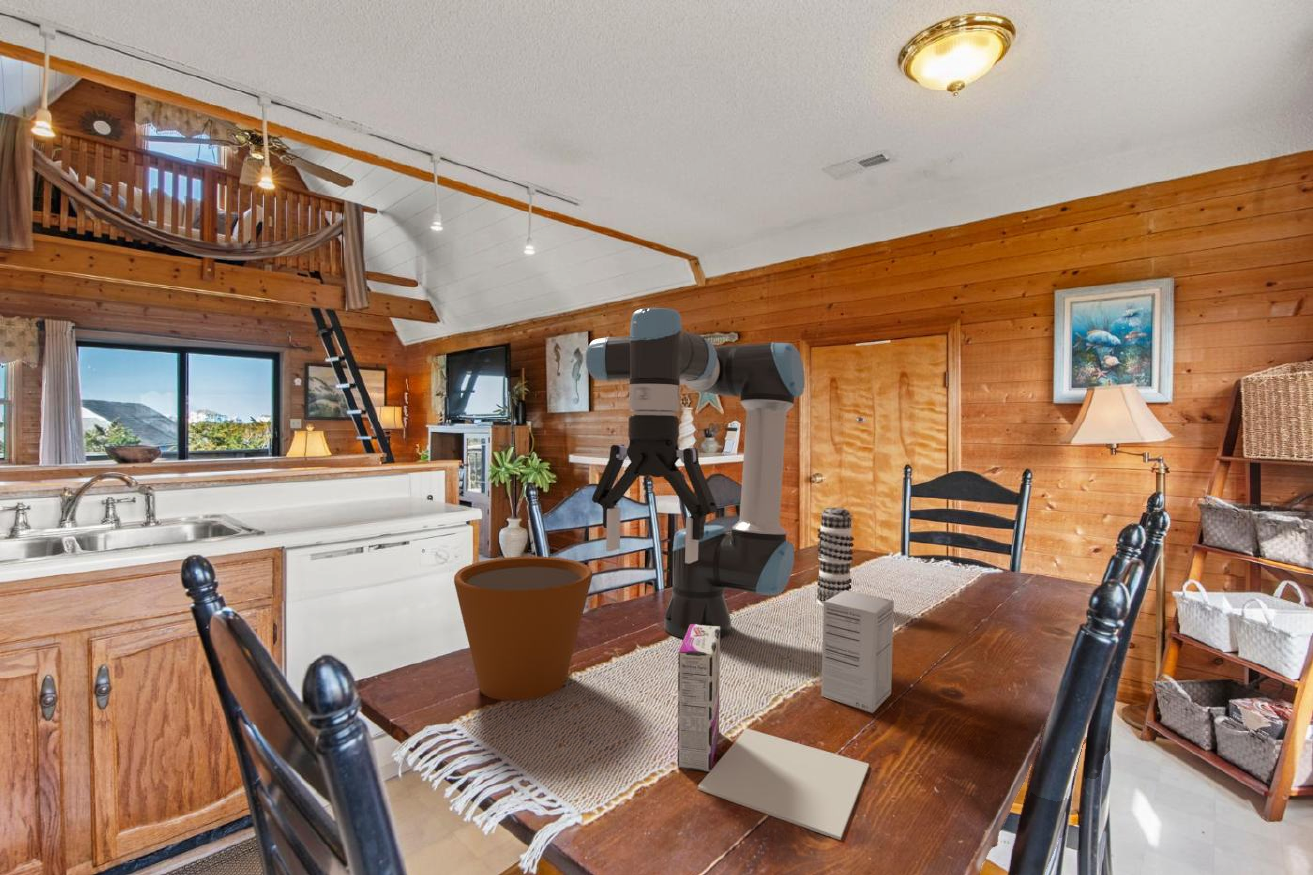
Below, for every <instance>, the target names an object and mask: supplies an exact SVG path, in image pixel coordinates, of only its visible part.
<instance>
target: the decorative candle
mask: <svg viewBox="0 0 1313 875" xmlns="http://www.w3.org/2000/svg"><path fill="white" fill-rule="evenodd" d="M850 513H851V512H850V510H848V509H846V508H843V507H842V508H841V507H828V508H825V509H824V510H823V512H821V513H820V515H821V521H820V522H821V523H820V528H817V532H818V533H817V535H816V536H817V539H819V540H818V541H817V545H818V547H817V551H818V552H819V554H818V555H817V557H818V560H819V571H818V576H817V580H818V581H817V586H818V588H817V590H816V592H817V593H816V594H817V595H816V598H817V602H816V603H817V604H819V605H818V606H820V607H822V606H824V602H825V601H827V600H828V599H830V598H832V597H834V596H835V595H837V594H839V593H841V592H842V591H844V590H845V591H850V589H852V584H851V583H852V578H851V570H850V569H851V563H852V562H853V556H852V555H853V554H854V552H853V550H852V549H851V548H852V547H854V546H855V544H854V543H853V541H854V540H855V538H854V536H852V535H851V534H852V533H853V531H852V529H853V528H852V517H854V516H853V514H850Z"/></svg>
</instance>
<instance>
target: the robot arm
mask: <svg viewBox="0 0 1313 875" xmlns="http://www.w3.org/2000/svg"><path fill="white" fill-rule="evenodd" d="M630 321H631V322H630V323H631V324H630V334H629V336H615V337H614V336H612V337H610V336H606V337H602V338H596V339H593V340H592V341H590V343H589V345H588V346H587V349H586V353H585V356H586V357H585V365H586V369H587V371H588V374H589V375H590V376H591V377H592V378H593V379H595V380H596V381H597V380H598V381H607V382H612V381H613V382H615V381H617V382H618V381H620V382H621V381H625V382H629V391H628V392H629V395H628V396H629V399H628V402H629V403H628V404H629V405H628V410H629V411H630V412H632V415H629V417H628V432H627V434H628V439H629V444H628V446H626V445H624V444H612V445H611V446H610V450H609V458H608V461H607V464H606V465H605V468H604V471H603V472H602V475H601V477H600V479H599V481H598V484H597V486H596V488H595V490H594V491H593V492H594V493H593V494H592V497H591V501H592V502H593V503H594V504H597V505H600V506H601V507H602V526H603V528H604V529H606V535H605V536H606V538H605V539H606V540H605V546H606V547H605V551H606V552H613V551H616V550H619V549H620V548H621V507H619V506H618V505H619V504H618V503H619V502H620V501H621V500H622V498H623V496H625V494H626V493H627V492H628V490H629V489H630V488H631V487H632V485H633V484H634V483H635V481H636V480H637V479H638V478H639V477H648V476H650V477H653V478H663V479H664V480H665V481H667V482H668V484H669V485H670V486H671V488H672V489H673V490H674V492H675V493H676V495H677V496H678V498H679V499H680V500H681V503H682V504H683V506H685V508H686V510H687V511H688V513H689V515H690V516H687V517H685V528H682V529H679V530H678V531H676V532H675V534H674V537H673V546H672V594H671V598H670V600H669V603H668V605H667V609H666V612H665V615H664V618H663V620H664V621H663V622H664V623H663V627H664V630H665V632H667V633H668V634H670V635H672V636H674V637H677V638H681V639H684V638H685V636H686V633H687V631H688V628H689V626H690V624H699V625H709V626H719V627H720V639H722V638H723V637H726V636H727V635H729V634H730V633H731V629H732V619H731V615H730V612H729V609H728V605H727V603H726V600H725V589H729V590H735V591H740V592H741V591H742V592H748V593H753V594H757V595H758V596H761V595H766V596H778V595H779V594H781V593H783V591H784V590H785V589H786V587H787V586H788V583H789V581H790V579H791V576H792V572H793V567H794V563H795V546H794V544H793V543H792V542H790V541H789V540H787V531H786V529H784V528H783V526H782V525H781V506H782V505H781V503H782V490H783V489H782V488H783V473H784V457H785V456H784V455H785V441H786V440H785V436H786V424H787V423H786V421H787V413H788V412H790V410H791V409H792V408H794V406H795V398H799V397H801V396H802V395H803V394H804V389H805V381H806V379H805V370H804V364H803V360H802V357H801V354H800V352H799V350H798V348H797V347H796V346H795V345H794V344H792V343H790V342H776V341H772V342H767V343H766V342H765V343H764V342H763V343H749V344H728V345H721V346H720V345H719V346H714V344H713V343H712V342H711V341H710V340H709V339H707V338H704V337H703V336H702V335H699V334H697V333H691V332H688V331H684V330H683V325H682V316H681V314H680V312H679V311H678V310H675V309H672V308H664V307H647V308H646V307H645V308H641V309H637V310H636V311H634V312H633V313H632V316H631V320H630ZM680 386H686V387H687V388H688V389H690V390H693V391H695V392H702V393H709V394H713V395H719V396H725V397H740V400H739V404H740V405H741V406H742V408H744V409H745V411H746V415H745V428H744V429H745V430H744V431H745V433H744V445H743V446H744V447H743V462H742V476H741V477H742V478H741V492H740V504H739V505H740V507H739V520H738V521H737V522H736V523H735V524H734V525H733V526H731V534H728V533H727V530H726V527H725V526H724V525H717V524H716V525H715V524H714V525H713V524H712V525H705V517H706V516H708V515H710V514H714V513H716V512H717V511H718V506H717V503H716V501H715V499H714V496H713V494H712V491H711V489H710V486H709V484H708V481H707V480H706V477H705V475H704V472H703V470H702V468H701V465H700V463H699V451H698V449H697V448H696V447H685V448H684V449H680V448H679V446H678V445H679V444H678V441H679V436H680V435H679V432H680V430H679V428H680V427H679V425H680V418H678V416H676V413H678V412H680ZM627 457H628V459H629V460H630V463H629V464H628V466H627V467H626V468H625V469H624V471H623V474H622V475H621V477H620V478H619V479H618V480H617V482H616V479H617V477H618V476H619V474H620V471H621V468H622V466H623V464H624V463H625V462H624V461H625V460H626V459H627ZM679 459H680V461H681V463H682V464H683V465H684V468H685V471H686V473H687V477H688V478H689V482H690V483H691V486H692V488H691V487H690V486H689V484H688V483H687V482H686V480H685V479H684V477H683V475H682V471H681V470H680V469H679V468H678V467H679V466H677V464H676V463H677V461H678V460H679ZM615 482H616V483H615ZM692 489H693V490H692Z"/></svg>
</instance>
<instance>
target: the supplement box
mask: <svg viewBox="0 0 1313 875" xmlns="http://www.w3.org/2000/svg"><path fill="white" fill-rule="evenodd" d="M894 601H895V600H893V599H888V598H884V597H881V596H874V595H869V594H865V593H861V592H855V591H852V590H851V591H850V590H849V591H845V590H844V591H842V592H841V593H839V594H837V595H835V596H834V597H832V598H830V599H828V600H827V601H825V602H824V606H823V609H822V610H823V611H822V612H823V613H822V614H823V616H822V618H823V619H822V654H821V655H822V656H821V659H822V660H821V663H822V664H821V694H820V695H821V697H823V698H826V699H829V700H832V701H835V702H838V703H840V704H844V705H847V706H851V707H853V708H855V709H859V710H862V711H865V712H868V713H871V714H873V713H875V712H876V710H877V709H879V707H880V706H881V705H882V704H883V703H884V702H885V701H886V700H887V699H888V698H889V697H890V696H891V695H892V677H893V676H892V674H893V672H892V671H893V638H894V637H893V636H894V612H895V610H894V609H895V606H894V605H895V602H894Z"/></svg>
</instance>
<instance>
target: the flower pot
mask: <svg viewBox="0 0 1313 875" xmlns="http://www.w3.org/2000/svg"><path fill="white" fill-rule="evenodd" d="M592 579H593V570H592V569H591V567H589V566H588V565H587V564H585V563H584V562H580V561H578V560H577V561H576V560H573V559H568V558H562V557H554V556H553V557H552V556H513V557H510V556H509V557H503V558H501V557H500V558H493V559H488V560H483V561H479V562H475V563H472V564H469V565H466V566H464V567H461V568H460V569H459V570H458V571H457V572H456V573H455V574H454V576H453V584H454V588H455V592H456V596H457V600H458V604H459V608H460V613H461V617H462V621H463V624H464V628H465V632H466V633H465V634H466V638H467V641H468V646H469V650H470V654H471V659H472V663H473V667H474V672H475V675H476V679H477V685H478V687H479V691H480V692H481V694H482V695H484V696H486V697H487V698H491V699H494V700H499V701H507V702H516V701H517V702H518V701H528V700H535V699H539V698H543V697H546V696H549V695H552V694H555V693H556V692H557V691H559V690H560V689H562V688H563V687H564V686H565V685H566V681H567V677H568V674H569V669H570V665H571V662H572V657H573V654H574V650H575V647H576V641H577V639H578V634H579V629H580V626H581V623H582V618H583V614H584V612H585V607H586V602H587V600H588V599H587V598H588V595H589V591H590V587H591V583H592Z"/></svg>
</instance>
